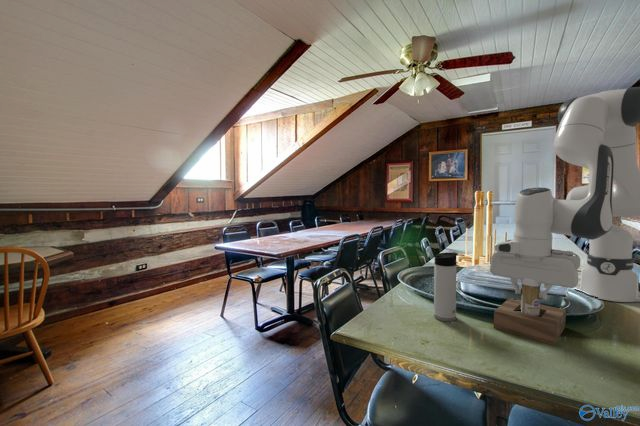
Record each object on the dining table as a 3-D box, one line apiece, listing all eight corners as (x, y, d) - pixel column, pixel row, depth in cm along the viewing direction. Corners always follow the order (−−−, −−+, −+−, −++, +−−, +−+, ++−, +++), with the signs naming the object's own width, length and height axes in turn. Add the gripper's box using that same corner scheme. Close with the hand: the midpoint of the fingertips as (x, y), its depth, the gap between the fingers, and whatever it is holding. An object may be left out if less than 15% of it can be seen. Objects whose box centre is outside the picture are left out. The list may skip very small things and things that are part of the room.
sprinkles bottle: (532, 329, 86) (533, 280, 85) (516, 322, 90) (517, 276, 89) (543, 326, 88) (545, 278, 87) (527, 319, 92) (528, 274, 91)
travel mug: (460, 321, 94) (461, 255, 93) (438, 321, 95) (438, 255, 93) (452, 313, 101) (452, 250, 99) (431, 313, 101) (431, 251, 99)
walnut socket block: (509, 313, 99) (509, 297, 99) (565, 327, 89) (565, 309, 89) (493, 328, 90) (494, 311, 89) (554, 345, 80) (555, 326, 79)
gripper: (582, 250, 82) (580, 302, 83) (496, 241, 97) (494, 286, 98) (578, 254, 78) (576, 309, 79) (488, 244, 92) (487, 291, 94)
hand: (530, 296), depth 89 cm, fingers open, 4 cm apart
